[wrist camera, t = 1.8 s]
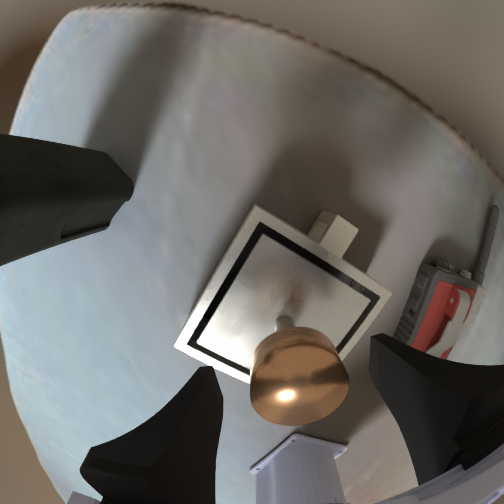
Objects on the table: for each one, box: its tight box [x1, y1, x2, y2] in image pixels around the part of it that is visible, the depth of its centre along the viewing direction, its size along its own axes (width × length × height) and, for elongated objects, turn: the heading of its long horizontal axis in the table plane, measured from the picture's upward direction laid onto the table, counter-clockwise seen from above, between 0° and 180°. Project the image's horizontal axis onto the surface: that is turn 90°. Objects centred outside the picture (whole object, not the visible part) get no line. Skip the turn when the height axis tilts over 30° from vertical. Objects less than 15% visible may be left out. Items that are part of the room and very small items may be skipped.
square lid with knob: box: [197, 232, 371, 426], centre depth 13 cm, size 8×8×7 cm
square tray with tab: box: [174, 203, 392, 384], centre depth 18 cm, size 12×10×4 cm
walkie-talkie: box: [393, 205, 499, 360], centre depth 19 cm, size 9×4×20 cm
